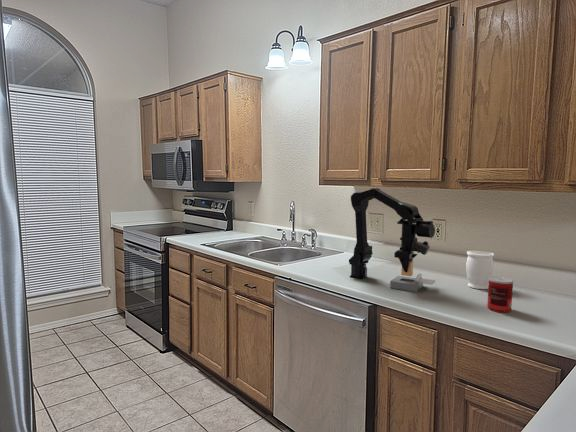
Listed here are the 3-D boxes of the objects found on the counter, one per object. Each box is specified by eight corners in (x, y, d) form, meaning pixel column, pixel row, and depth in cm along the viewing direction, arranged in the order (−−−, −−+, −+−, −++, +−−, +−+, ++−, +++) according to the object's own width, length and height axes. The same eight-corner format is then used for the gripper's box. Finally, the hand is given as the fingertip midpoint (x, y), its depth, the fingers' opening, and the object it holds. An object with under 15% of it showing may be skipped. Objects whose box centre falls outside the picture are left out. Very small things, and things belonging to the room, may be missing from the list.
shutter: (416, 282, 168) (416, 276, 167) (419, 279, 172) (419, 273, 172) (432, 284, 164) (432, 278, 164) (435, 281, 169) (435, 275, 169)
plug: (401, 275, 172) (402, 257, 171) (403, 273, 174) (404, 256, 174) (410, 276, 170) (411, 258, 169) (412, 274, 172) (413, 257, 172)
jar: (459, 284, 176) (461, 251, 175) (477, 282, 180) (479, 249, 179) (479, 291, 167) (480, 255, 165) (497, 289, 170) (499, 254, 169)
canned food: (503, 305, 149) (505, 276, 147) (516, 313, 141) (518, 282, 139) (482, 305, 148) (484, 276, 147) (494, 313, 140) (496, 282, 139)
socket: (390, 288, 171) (390, 281, 171) (397, 282, 180) (398, 275, 180) (416, 292, 165) (416, 284, 165) (423, 285, 174) (423, 279, 174)
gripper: (422, 239, 158) (421, 278, 160) (433, 234, 174) (431, 269, 176) (394, 237, 164) (393, 274, 166) (407, 232, 180) (406, 266, 181)
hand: (407, 271), depth 172 cm, fingers closed on plug, 3 cm apart
